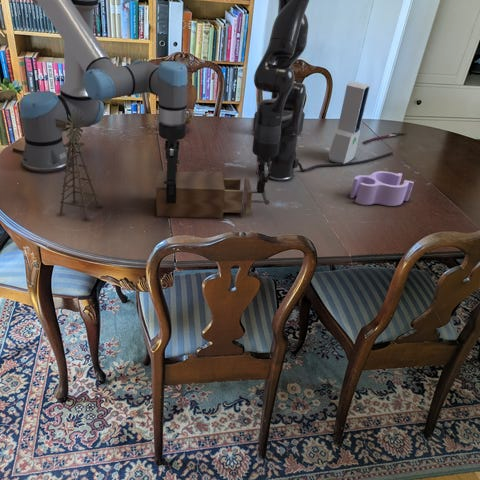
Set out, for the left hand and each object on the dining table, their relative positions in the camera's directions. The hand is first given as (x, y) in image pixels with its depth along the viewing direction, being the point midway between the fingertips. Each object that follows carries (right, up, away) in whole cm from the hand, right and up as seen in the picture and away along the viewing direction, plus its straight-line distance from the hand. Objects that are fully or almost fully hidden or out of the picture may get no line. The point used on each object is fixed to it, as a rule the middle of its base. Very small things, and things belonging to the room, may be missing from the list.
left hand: (171, 193), depth 140 cm
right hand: (+27, +1, +3) cm, 27 cm away
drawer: (+17, -4, +4) cm, 18 cm away
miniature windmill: (-26, -6, -4) cm, 27 cm away
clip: (+68, 0, +21) cm, 71 cm away
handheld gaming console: (+37, +33, +66) cm, 83 cm away
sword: (+87, +32, +74) cm, 118 cm away
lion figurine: (-6, +33, +59) cm, 67 cm away
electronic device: (+61, +18, +48) cm, 80 cm away
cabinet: (+5, -4, +3) cm, 7 cm away
